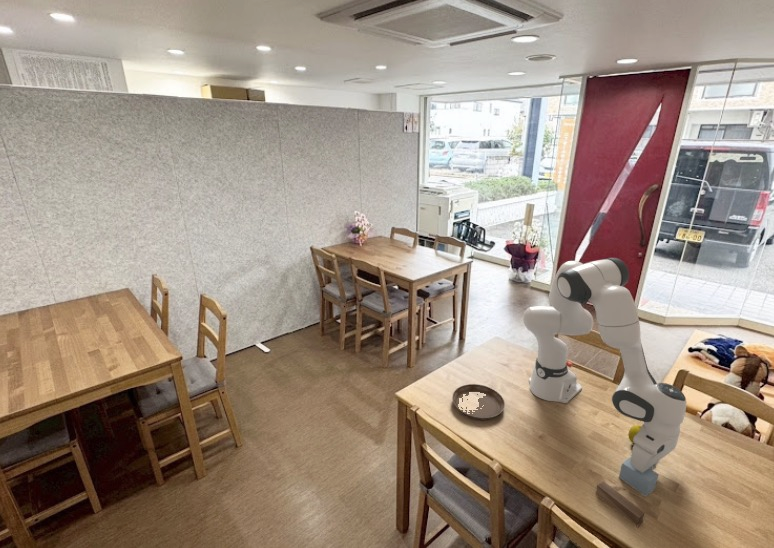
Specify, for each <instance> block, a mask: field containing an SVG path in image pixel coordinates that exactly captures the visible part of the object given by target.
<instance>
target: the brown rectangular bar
mask: <svg viewBox="0 0 774 548" xmlns="http://www.w3.org/2000/svg"><path fill="white" fill-rule="evenodd" d="M595 495H596V496H597V497H599V498H600V499H601V500H603V502H605V503H606V504H608V506H609V507H611V508H612V509H613V510H615V511H616V512H617V513H619V514H620V515H621V516H623V518H625V519H626V520H628V522H630V523H631V524H632V525H633V526H635V527H636V528H638V527H639V526H640V525H641V524H642V523H644V518H645V515H646V512H645V511H644V510H642V509H641V508H640V507H639V506H637V505H636V504H634V503H633V502H632V501H631V500H630V499H628V498H626V497H625V496H624V495H623V494H622V493H620V492H619V491H617V490H616V489H615V488H614V487H612V486H611V485H610V484H608V483H607V482H606V481H604V480H603V481H602V482H600V483H598V484H597V487H596V491H595Z"/></svg>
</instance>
